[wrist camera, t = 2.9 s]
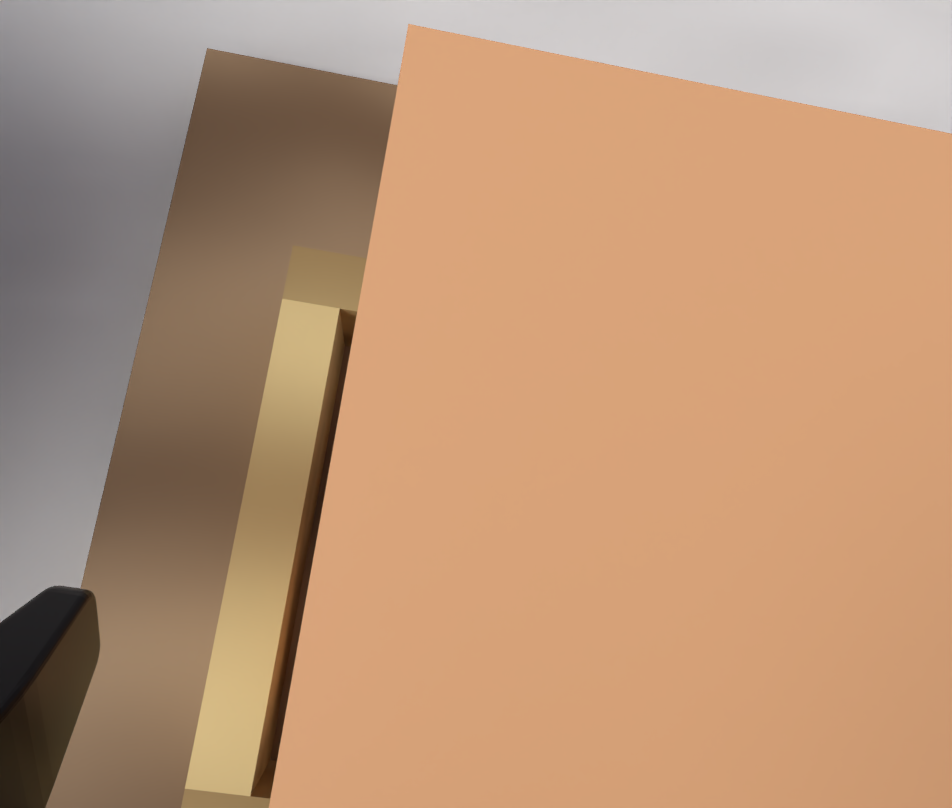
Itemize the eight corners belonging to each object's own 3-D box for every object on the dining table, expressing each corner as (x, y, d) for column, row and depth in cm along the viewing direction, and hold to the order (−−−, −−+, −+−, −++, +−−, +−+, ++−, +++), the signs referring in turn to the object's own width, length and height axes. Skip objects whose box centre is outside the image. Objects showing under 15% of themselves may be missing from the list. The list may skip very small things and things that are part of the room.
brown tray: (741, 1143, 16) (841, 1300, 13) (-15, 1078, 15) (-133, 1232, 11) (802, 187, 20) (889, 110, 17) (215, 75, 19) (180, -34, 15)
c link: (542, 736, 16) (998, 1201, 4) (333, 710, 16) (208, 1134, 4) (577, 432, 17) (1006, 144, 6) (385, 401, 17) (408, 24, 5)
